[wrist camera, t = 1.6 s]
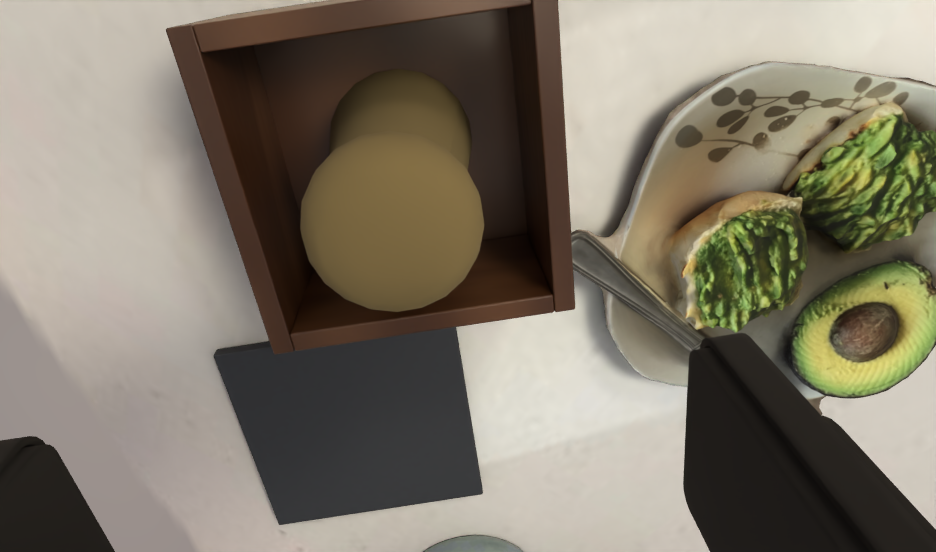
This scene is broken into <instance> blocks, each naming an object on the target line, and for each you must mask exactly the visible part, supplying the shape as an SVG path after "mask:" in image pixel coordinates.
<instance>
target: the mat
mask: <svg viewBox="0 0 936 552" xmlns="http://www.w3.org/2000/svg"><path fill="white" fill-rule="evenodd" d="M214 358H215V361H216V364H217V366H218V369H219V371H220V374H221V376H222V379H223V382H224V384H225V387H226V389H227V392H228V394H229V397H230V400H231V402H232V405H233V407H234V410H235V412H236V415H237V418H238V420H239V423H240V425H241V428H242V430H243V433H244V436H245V438H246V441H247V443H248V446H249V448H250V451H251V454H252V456H253V459H254V461H255V464H256V466H257V469H258V472H259V474H260V477H261V479H262V482H263V484H264V487H265V490H266V492H267V495H268V497H269V500H270V502H271V505H272V508H273V510H274V513H275V515H276V518H277V520H278V523H279V525H283V524H289V523H296V522H302V521H309V520H315V519H322V518H329V517H335V516H342V515H348V514H355V513H361V512H368V511H375V510H381V509H388V508H394V507H401V506H407V505H414V504H420V503H427V502H434V501H440V500H447V499H453V498H460V497H466V496H473V495H480V494H482V493H483V491H482V484H481V477H480V471H479V465H478V459H477V453H476V447H475V441H474V435H473V429H472V422H471V416H470V410H469V404H468V398H467V392H466V386H465V380H464V374H463V367H462V361H461V355H460V349H459V343H458V337H457V331H456V327H452V328H445V329H439V330H432V331H425V332H419V333H412V334H406V335H399V336H392V337H386V338H379V339H372V340H366V341H359V342H352V343H346V344H339V345H332V346H326V347H319V348H312V349H306V350H299V351H295V350H294V351H293V352H288V353H281V354H274V353H273V350H272V347H271V344H270V342H264V343H258V344H251V345H245V346H238V347H231V348H225V349H218V350H216V352H215V354H214Z"/></svg>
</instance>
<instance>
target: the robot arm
mask: <svg viewBox="0 0 936 552" xmlns="http://www.w3.org/2000/svg"><path fill="white" fill-rule="evenodd" d="M683 484H684V494H685V498H686V502H687V505H688V507H689V510H690V512H691V514H692V516H693V518H694V520H695V522H696V524H697V526H698V528H699V530H700V532H701V534H702V536H703V538H704V540H705V542H706V544H707V546H708V548H709V550H710V552H936V530H935V528H934V527H933V526H932V525H931V524H930V523H929V522H928V521H927V520H926V519H925V518H924V517H923V516H922V514H921V513H920V512H919V511H918V510H917V509H916V508H915V507H914V506H913V505H912V504H911V503H910V501H909V500H908V499H907V498H906V497H905V496H904V495H903V494H902V493H901V492H900V491H899V490H898V488H897V487H896V486H895V485H894V484H893V483H892V482H891V481H890V480H889V479H888V478H887V477H886V475H885V474H884V473H883V472H882V471H881V470H880V469H879V468H878V467H877V466H876V465H875V464H874V462H873V461H872V460H871V459H870V458H869V457H868V456H867V455H866V454H865V453H864V452H863V451H862V449H861V448H860V447H859V446H858V445H857V444H856V443H855V442H854V441H853V440H852V439H851V438H850V436H849V435H848V434H847V433H846V432H845V431H844V430H843V429H842V428H841V427H840V426H839V425H838V424H837V423H835V422H834V421H833V420H832V419H830V418H828V417H825V416H821V415H820V414H819V412H818V411H817V410H816V409H815V408H814V407H813V406H812V405H811V404H810V403H809V401H808V400H807V399H806V398H805V397H804V396H803V395H802V394H801V393H800V391H799V390H798V389H797V388H796V387H795V386H794V385H793V384H792V383H791V381H790V380H789V379H788V378H787V377H786V376H785V375H784V374H783V373H782V372H781V370H780V369H779V368H778V367H777V366H776V365H775V364H774V363H773V362H772V360H771V359H770V358H769V357H768V356H767V355H766V354H765V353H764V352H763V350H762V349H761V348H760V347H759V346H758V345H757V344H756V343H755V342H754V341H753V339H752V338H751V337H750V336H748V335H747V334H746V333H737V334H730V335H723V336H716V337H709V338H705V339H703V340H702V342H701V344H700V349H697V350H692V351H691V352H690V355H689V367H688V390H687V413H686V436H685V459H684V482H683ZM0 552H115V551H114V549H113V548H112V546H111V544H110V543H109V541H108V539H107V537H106V535H105V534H104V532H103V530H102V528H101V527H100V525H99V523H98V522H97V520H96V518H95V516H94V515H93V513H92V511H91V509H90V508H89V506H88V504H87V503H86V501H85V499H84V497H83V496H82V494H81V492H80V490H79V489H78V487H77V485H76V483H75V482H74V480H73V478H72V476H71V475H70V473H69V471H68V469H67V468H66V466H65V464H64V463H63V461H62V459H61V457H60V456H59V454H58V452H57V451H56V450H55V448H54V447H52V446H51V445H46V444H45V443H44V442H43V440H41V439H39V438H37V437H32V436H29V437H22V438H15V439H8V440H2V441H0Z"/></svg>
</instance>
